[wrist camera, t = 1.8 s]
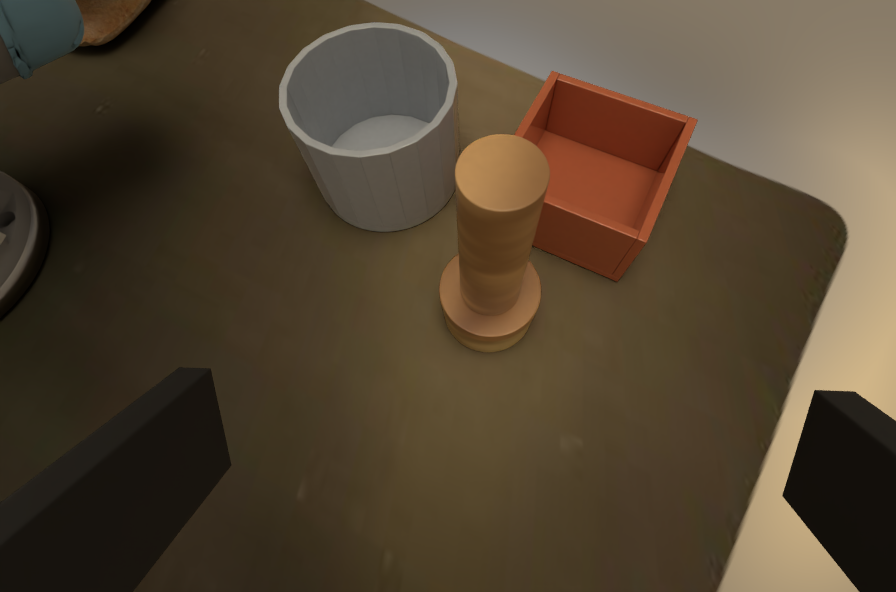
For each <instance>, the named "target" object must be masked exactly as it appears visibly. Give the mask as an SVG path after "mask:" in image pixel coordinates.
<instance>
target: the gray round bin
mask: <svg viewBox="0 0 896 592" xmlns="http://www.w3.org/2000/svg"><path fill="white" fill-rule="evenodd" d="M279 109H280V112H281V114H282V116H283V118H284V120H285V123H286V125H287V127H288V129H289V131H290V133H291V135H292V137H293V139H294V141H295V143H296V145H297V147H298V149H299V150H300V152H301V154H302V156H303V158H304V160H305V162H306V164H307V166H308V168H309V170H310V172H311V174H312V176H313V178H314V180H315V182H316V183H317V185H318V187H319V189H320V191H321V193H322V195H323V197H324V199H325V201H326V202H327V204H328V205H329V207H330V208H331V209H332V210H333V211H334V212H335V213H336V214H337V215H338V216H339V217H340V218H341V219H343V220H344V221H346V222H348V223H349V224H351V225H353V226H356V227H359V228H361V229H365V230H370V231H377V232H391V231H399V230H404V229H408V228H411V227H414V226H416V225H419V224H421V223H423V222H425V221H427V220H428V219H430V218H431V217H433V216H434V215H435V214H436V213H438V212H439V211H440V210H441V209H442V208H443V207H444V206H445V205H446V204H447V202H448V201H449V199H450V198H451V196H452V195H453V193H454V191H455V166H456V163H457V160H458V158H459V156H460V151H459V118H458V86H457V78H456V73H455V68H454V63H453V61H452V60H451V58H450V57H449V55H448V54H447V53H446V51H445V50H444V48H443V47H442V45H441V44H439V43H438V42H436V41H435V40H434V39H432V38H431V37H429V36H428V35H426V34H425V33H424V32H422V31H419V30H416V29H413V28H410V27H407V26H404V25H401V24H400V25H399V24H391V23H379V22H375V23H374V22H372V23H364V24H357V25H350V26H346V27H344V28H341V29H338V30H336V31H333V32H330V33H328V34H325V35H323V36H321V37H320V38H318V39H317V40H315V41H314V42H312V43H311V44H309V45H308V46H306V47H305V48H304V49H302V50H301V52H300V53H299V54H298V55H297V56H296V57H295V58H294V60H293V61H292V62H291V63H290V64H289V65H288V67H287V69H286V71H285V74H284V76H283V79H282V81H281V84H280V86H279Z"/></svg>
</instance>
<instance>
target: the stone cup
mask: <svg viewBox="0 0 896 592" xmlns="http://www.w3.org/2000/svg"><path fill="white" fill-rule="evenodd" d="M75 1H76V3H77V5H78V7H79V9H80V12H81V14H82V18H83V21H84V36H83V40H82V42H81V43H80V45H79V46H89V45H94V46H99V45H102V44H105V43H107V42H109V41H111V40H113V39H114V38H115V37H116V36H118V35H119V34H120V33H121V32H123V31H124V30H125V29H126V28H127V27H128V26H129V25H130V24H131V23H132V22H133V21H134V20H135V19H136V18H137V17H138V15H139V14H140V13H141V12H142V11H143V10H144V9H145V8H146V7H147V5H148V4H149V3H150V2H151V1H152V0H75Z"/></svg>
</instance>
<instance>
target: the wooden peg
mask: <svg viewBox="0 0 896 592" xmlns="http://www.w3.org/2000/svg"><path fill="white" fill-rule="evenodd" d="M549 180H550V168H549V164H548V161H547V159H546V157H545V155H544V154H543V153H542V151H541V150H540V149H539V148H538V147H537V146H536V145H534V144H533V143H532V142H530V141H528V140H526V139H524V138H521V137H518V136H514V135H508V134H496V135H490V136H486V137H483V138H480V139H478V140H476V141H474V142H473V143H471V144H470V145H469V146H467V147H466V148H465V149H464V151H463V152H462V153H461V155H460V156H459V158H458V160H457V163H456V166H455V190H456V211H457V231H458V252H459V253H458V254H457V255H456V256H455V257H454V258H452V260H451V261H450V262H449V263H448V264H447V266H446V267H445V269H444V271H443V273H442V276H441V279H440V284H439V295H440V302H441V306H442V309H443V312H444V317H445V321H446V324H447V327H448V329H449V331H450V332H451V334H452V335H453V336H454V337H455V338H456V339H457V340H458V341H459V342H460V343H461V344H463V345H464V346H466V347H468V348H470V349H473V350H476V351H480V352H497V351H502V350H505V349H507V348H509V347H511V346H513V345H514V344H516V343H517V342H518V341H519V340H520V339H521V338H522V337H523V336H524V335H525V333H526V331H527V330H528V328H529V325H530V323H531V321H532V320H533V318H534V316H535V314H536V312H537V309H538V306H539V304H540V300H541V283H540V279H539V276H538V274H537V272H536V270H535V268H534V266H533V265H532V264H531V262H530V261H529V260H528V259H529V256H530V252H531V248H532V244H533V241H534V237H535V233H536V229H537V226H538V222H539V218H540V214H541V210H542V207H543V203H544V199H545V195H546V192H547V188H548V184H549Z"/></svg>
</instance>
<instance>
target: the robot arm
mask: <svg viewBox="0 0 896 592" xmlns="http://www.w3.org/2000/svg"><path fill="white" fill-rule="evenodd" d="M83 36H84V21H83V18H82V14H81V12H80V9H79V7H78V5H77V3H76V1H75V0H0V84H1V83H4V82H6V81H8V80H11V79H13V78H15V77H18V76H21V77H22V78H23V79H27V78H29V77H31V76H32V72H33V70H35V69H37V68H39V67H41V66H43V65H45V64H47V63H49V62H52V61H54V60H56V59H58V58H60V57H62V56H64V55H66V54H68V53H70V52H72V51H73V50H75V49H76V48H77V47H78V46H79V45H80V43H81V42H82V40H83ZM49 233H50V230H49V219H48V215H47V211H46V209H45V207H44V205H43V203H42V202H41V200H40V199H39V197H38V196H37V195H36V194H35V193H34V192H33V191H31V190H30V189H29V188H27V187H26V186H24V185H23V184H21V183H20V182H18V181H17V180H15V179H14V178H12V177H11V176H9V175H7V174H6V173H4V172H1V171H0V318H1V317H2V316H3V315H4V314H5V313H6V312H7V311H8V310H9V309H10V308H11V307H12V306H13V305H14V304H15V303H16V302H17V301H18V300H19V299H20V297H21V296H22V295H23V294H24V292H25V291H26V290H27V288H28V287H29V286H30V284H31V283H32V281H33V279H34V278H35V276H36V274H37V273H38V271H39V269H40V267H41V264H42V262H43V260H44V257H45V254H46V251H47V247H48V242H49ZM230 466H231V461H230V457H229V452H228V447H227V443H226V438H225V434H224V429H223V424H222V420H221V415H220V410H219V406H218V401H217V396H216V392H215V387H214V382H213V378H212V373H211V369H206V368H178V369H177V370H175V371H174V372H173V373H171V374H170V375H169V376H167V377H166V378H165V379H164V380H162V381H161V382H160V383H158V384H157V385H156V386H154V387H153V388H152V389H150V390H149V391H148V392H146V393H145V394H144V395H142V396H141V397H140V398H138V399H137V400H136V401H134V402H133V403H132V404H130V405H129V406H128V407H126V408H125V409H124V410H122V411H121V412H120V413H119V414H117V415H116V416H115V417H113V418H112V419H111V420H109V421H108V422H107V423H105V424H104V425H103V426H101V427H100V428H99V429H97V430H96V431H95V432H93V433H92V434H91V435H89V436H88V437H87V438H85V439H84V440H83V441H81V442H80V443H79V444H78V445H76V446H75V447H74V448H72V449H71V450H70V451H68V452H67V453H66V454H64V455H63V456H62V457H60V458H59V459H58V460H56V461H55V462H54V463H52V464H51V465H50V466H48V467H47V468H46V469H44V470H43V471H42V472H40V473H39V474H38V475H36V476H35V477H34V478H33V479H31V480H30V481H29V482H27V483H26V484H25V485H23V486H22V487H21V488H19V489H18V490H17V491H15V492H14V493H13V494H11V495H10V496H9V497H7V498H6V499H5V500H3V501H1V502H0V592H133V591H134V589H135V588H136V587H137V586H138V584H139V583H140V582H141V580H142V579H143V578H144V577H145V575H146V574H147V573H148V572H149V570H150V569H151V568H152V566H153V565H154V564H155V563H156V561H157V560H158V559H159V557H160V556H161V555H162V554H163V552H164V551H165V550H166V548H167V547H168V546H169V545H170V543H171V542H172V541H173V539H174V538H175V537H176V536H177V534H178V533H179V532H180V530H181V529H182V528H183V527H184V525H185V524H186V523H187V521H188V520H189V519H190V518H191V516H192V515H193V514H194V512H195V511H196V510H197V509H198V507H199V506H200V505H201V504H202V502H203V501H204V500H205V498H206V497H207V496H208V495H209V493H210V492H211V491H212V489H213V488H214V487H215V486H216V484H217V483H218V482H219V480H220V479H221V478H222V477H223V475H224V474H225V473H226V471H227V470H228V469H229V468H230ZM783 497H784V498H785V500H786V501H787V502H788V503H789V505H790V506H791V507H792V508H793V509H794V511H795V512H796V513H797V515H798V516H799V517H800V518H801V520H802V521H803V522H804V523H805V524H806V526H807V527H808V528H809V529H810V531H811V532H812V533H813V534H814V536H815V537H816V538H817V539H818V541H819V542H820V543H821V544H822V546H823V547H824V548H825V549H826V551H827V552H828V553H829V554H830V556H831V557H832V558H833V559H834V561H835V562H836V563H837V564H838V566H839V567H840V568H841V569H842V571H843V572H844V573H845V574H846V576H847V577H848V578H849V579H850V581H851V582H852V583H853V584H854V586H855V587H856V588H857V589H858V591H859V592H896V421H895V420H894V419H892V418H891V417H889V416H888V415H887V414H885V413H883V412H882V411H881V410H880V409H878V408H877V407H875V406H874V405H873V404H871V403H870V402H868V401H867V400H866V399H864V398H862V397H861V396H860V395H859V394H857V393H856V392H850V391H822V390H815V391H814V394H813V397H812V401H811V404H810V407H809V410H808V414H807V417H806V420H805V423H804V427H803V430H802V433H801V437H800V440H799V443H798V446H797V450H796V453H795V456H794V460H793V463H792V466H791V470H790V473H789V476H788V479H787V482H786V486H785V489H784V492H783Z"/></svg>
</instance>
